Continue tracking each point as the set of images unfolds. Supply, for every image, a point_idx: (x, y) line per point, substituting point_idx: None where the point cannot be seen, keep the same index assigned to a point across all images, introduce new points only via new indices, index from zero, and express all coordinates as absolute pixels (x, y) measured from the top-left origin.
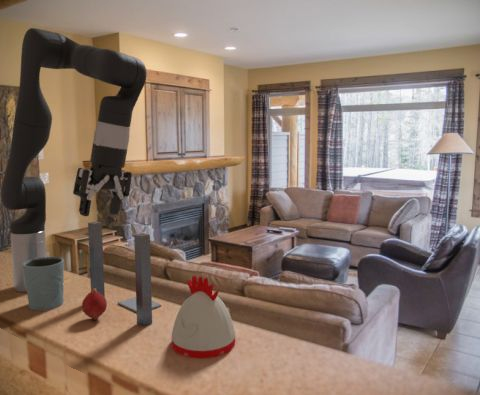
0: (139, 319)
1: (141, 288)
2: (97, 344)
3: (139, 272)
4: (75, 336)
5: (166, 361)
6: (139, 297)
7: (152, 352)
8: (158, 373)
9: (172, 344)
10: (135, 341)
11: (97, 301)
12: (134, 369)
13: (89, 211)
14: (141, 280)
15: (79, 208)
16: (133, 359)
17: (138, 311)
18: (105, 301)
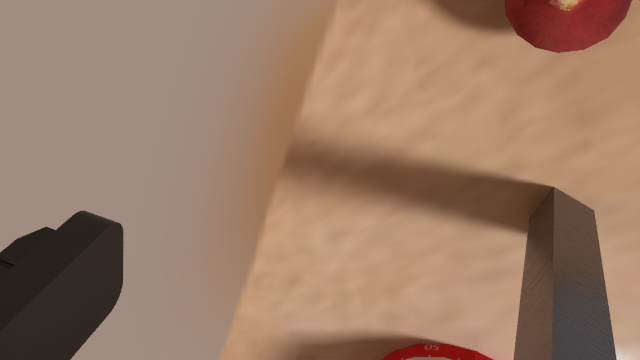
0: (543, 209)
1: (524, 290)
2: (357, 124)
3: (528, 323)
4: (392, 10)
5: (322, 349)
6: (536, 254)
7: (356, 303)
8: (266, 343)
9: (394, 356)
10: (408, 234)
11: (529, 34)
12: (264, 285)
13: (84, 340)
14: (519, 314)
15: (3, 255)
16: (306, 266)
17: (544, 218)
18: (579, 48)
